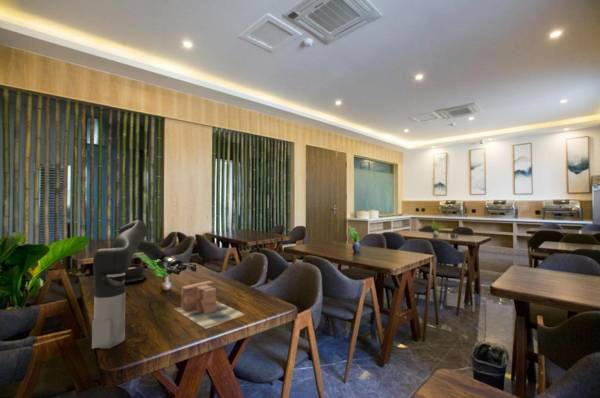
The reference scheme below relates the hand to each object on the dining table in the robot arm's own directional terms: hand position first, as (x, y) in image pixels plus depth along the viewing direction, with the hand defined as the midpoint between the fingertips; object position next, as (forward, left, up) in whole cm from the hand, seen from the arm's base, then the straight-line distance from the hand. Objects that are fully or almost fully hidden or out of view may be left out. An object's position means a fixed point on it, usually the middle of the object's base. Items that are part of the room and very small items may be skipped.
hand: (187, 271), depth 141 cm
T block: (-12, -12, -14) cm, 22 cm away
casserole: (+39, +50, -15) cm, 66 cm away
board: (-16, -15, -15) cm, 27 cm away
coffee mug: (+14, +42, -15) cm, 47 cm away
